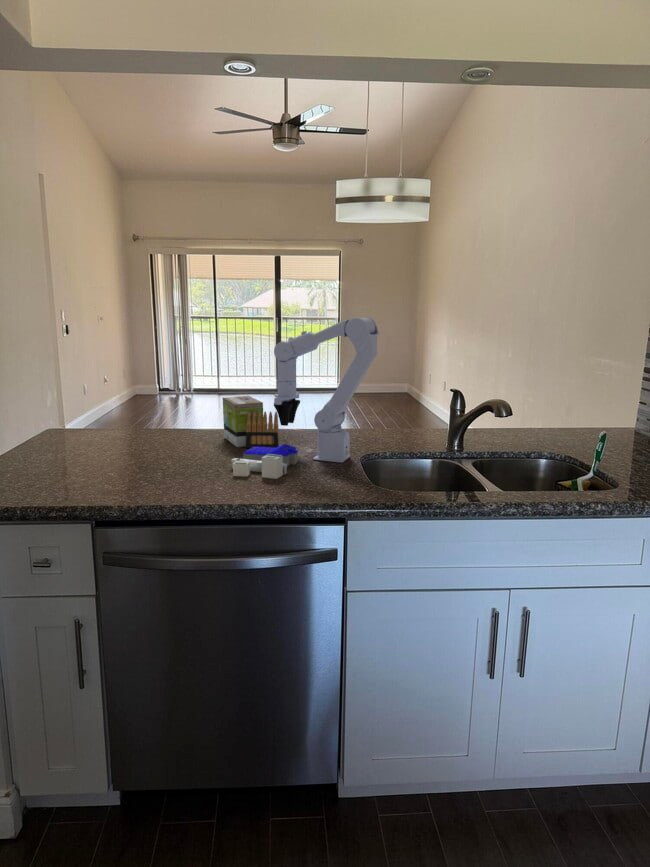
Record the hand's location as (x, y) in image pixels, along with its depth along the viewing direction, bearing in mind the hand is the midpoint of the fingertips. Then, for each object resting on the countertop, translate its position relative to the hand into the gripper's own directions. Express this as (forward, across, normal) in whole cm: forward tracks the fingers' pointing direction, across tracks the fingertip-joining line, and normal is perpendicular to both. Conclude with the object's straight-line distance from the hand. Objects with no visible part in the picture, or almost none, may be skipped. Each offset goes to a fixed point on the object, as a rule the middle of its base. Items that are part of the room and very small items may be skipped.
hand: (287, 424), depth 182 cm
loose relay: (+10, +26, -2) cm, 28 cm away
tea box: (+10, -9, -21) cm, 25 cm away
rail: (+9, +22, +1) cm, 23 cm away
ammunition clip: (+9, -3, -10) cm, 14 cm away
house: (+10, +11, 0) cm, 15 cm away
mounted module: (+9, +25, +6) cm, 27 cm away
